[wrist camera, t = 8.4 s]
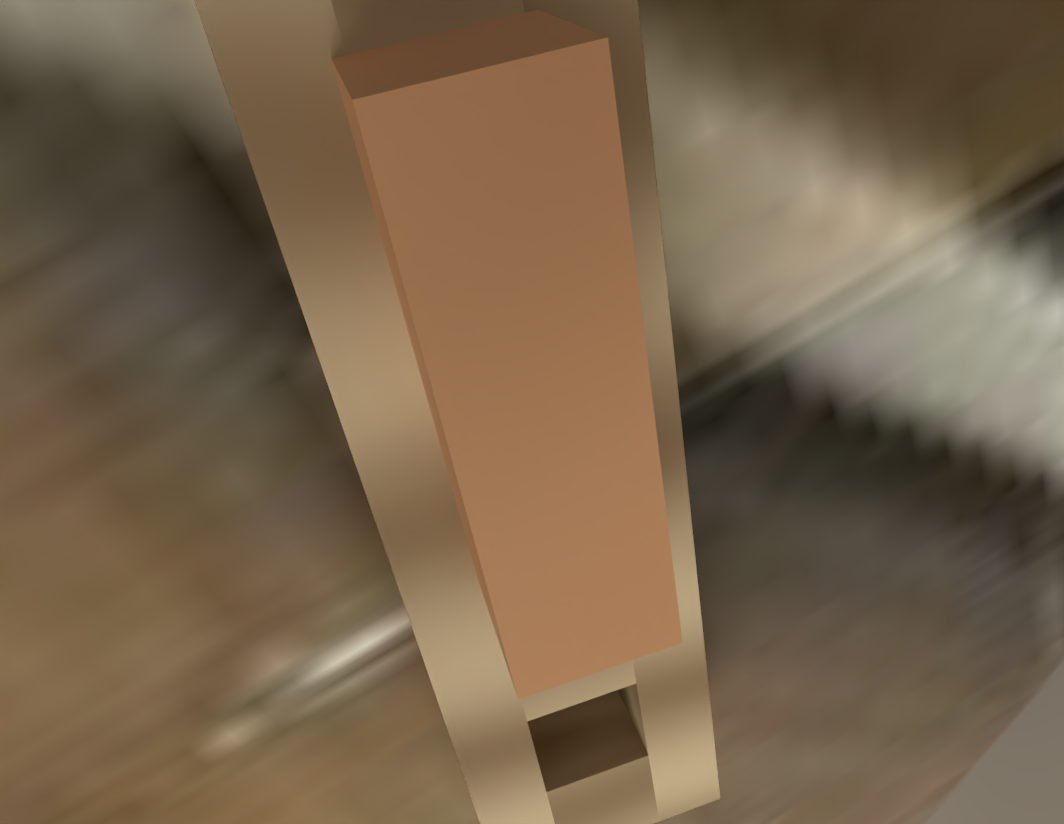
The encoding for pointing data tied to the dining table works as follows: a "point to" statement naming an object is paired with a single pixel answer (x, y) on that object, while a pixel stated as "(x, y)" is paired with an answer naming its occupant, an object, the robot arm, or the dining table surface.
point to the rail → (410, 435)
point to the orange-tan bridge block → (526, 327)
